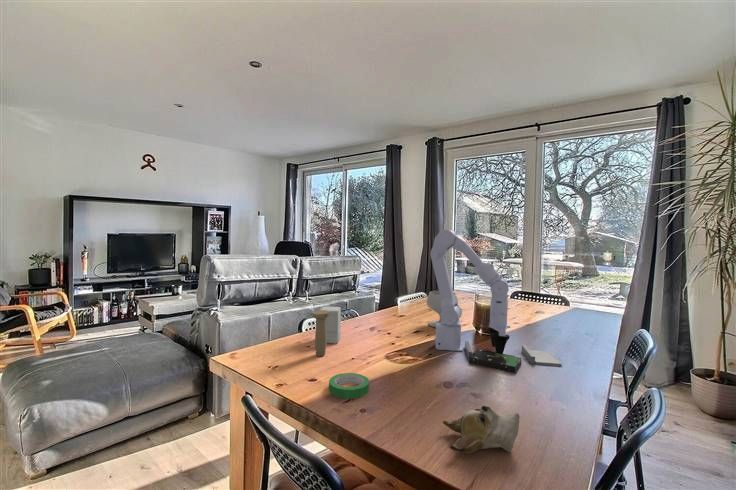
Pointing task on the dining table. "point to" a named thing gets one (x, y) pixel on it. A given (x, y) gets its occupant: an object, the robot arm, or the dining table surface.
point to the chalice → (436, 305)
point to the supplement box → (333, 324)
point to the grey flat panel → (529, 356)
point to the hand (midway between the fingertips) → (497, 350)
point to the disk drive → (495, 360)
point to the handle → (320, 331)
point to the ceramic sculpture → (484, 430)
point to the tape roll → (349, 391)
